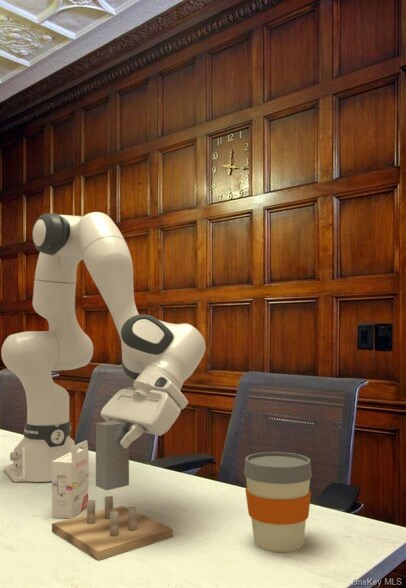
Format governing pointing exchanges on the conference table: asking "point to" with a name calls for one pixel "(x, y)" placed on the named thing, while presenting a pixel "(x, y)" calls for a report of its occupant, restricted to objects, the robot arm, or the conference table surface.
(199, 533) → the conference table surface
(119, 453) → the plate
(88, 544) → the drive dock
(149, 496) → the conference table surface
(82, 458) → the ink cartridge box
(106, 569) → the conference table surface
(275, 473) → the reusable coffee cup
